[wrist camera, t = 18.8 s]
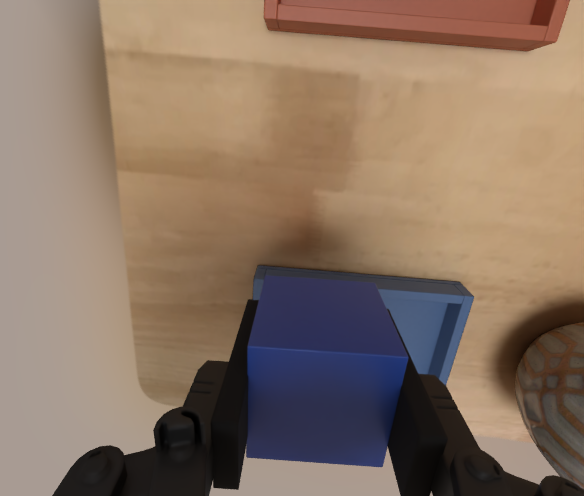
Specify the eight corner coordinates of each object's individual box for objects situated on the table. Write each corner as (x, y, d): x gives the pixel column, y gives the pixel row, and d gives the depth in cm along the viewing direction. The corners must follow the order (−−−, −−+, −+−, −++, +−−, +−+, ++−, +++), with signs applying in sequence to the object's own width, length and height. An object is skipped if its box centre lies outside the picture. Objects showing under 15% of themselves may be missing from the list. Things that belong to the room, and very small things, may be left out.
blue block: (262, 363, 16) (245, 458, 12) (264, 274, 15) (247, 346, 10) (360, 369, 16) (383, 468, 12) (375, 282, 15) (409, 357, 10)
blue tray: (252, 385, 33) (248, 406, 31) (257, 264, 28) (253, 278, 26) (424, 400, 33) (434, 422, 31) (459, 281, 28) (474, 296, 26)
